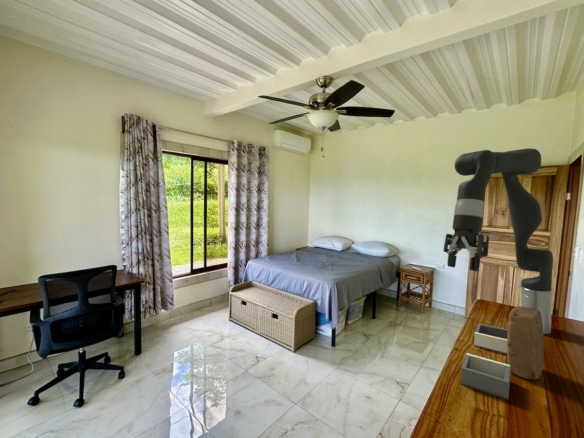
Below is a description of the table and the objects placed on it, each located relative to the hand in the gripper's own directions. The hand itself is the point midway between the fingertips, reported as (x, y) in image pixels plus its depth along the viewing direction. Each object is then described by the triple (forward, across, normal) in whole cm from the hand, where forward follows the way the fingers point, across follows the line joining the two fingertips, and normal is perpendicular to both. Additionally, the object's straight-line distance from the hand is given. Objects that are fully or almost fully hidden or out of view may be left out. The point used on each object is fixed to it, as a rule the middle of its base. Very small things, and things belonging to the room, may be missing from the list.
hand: (461, 268), depth 83 cm
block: (+29, +1, -28) cm, 40 cm away
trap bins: (+29, +8, -22) cm, 38 cm away
